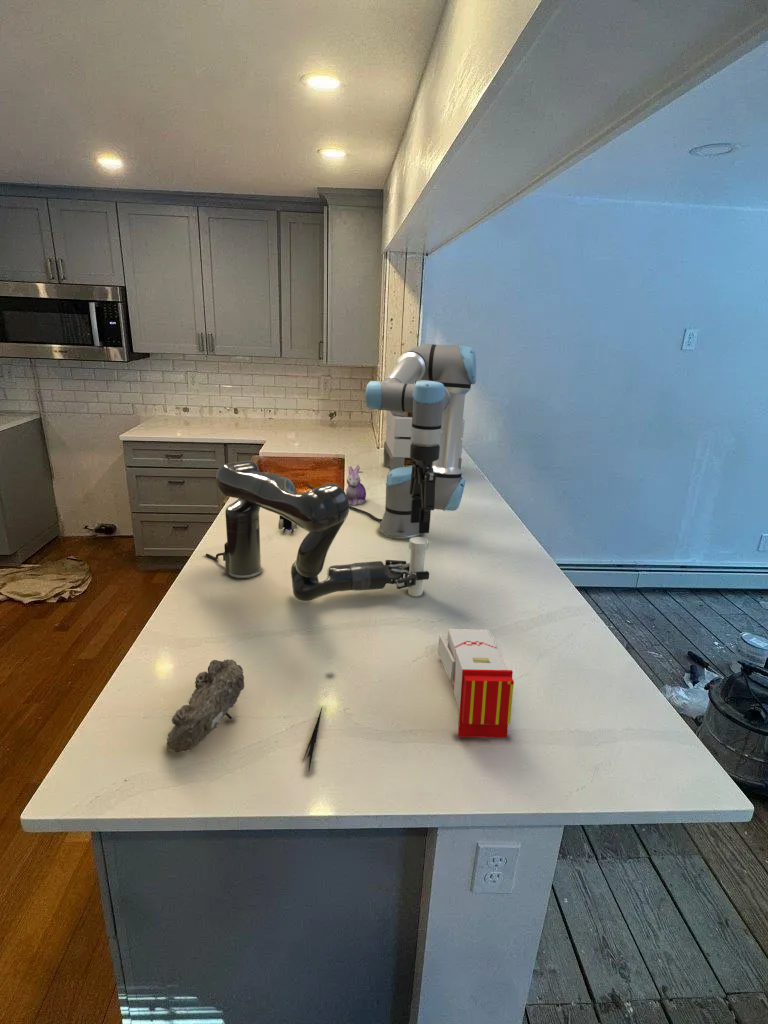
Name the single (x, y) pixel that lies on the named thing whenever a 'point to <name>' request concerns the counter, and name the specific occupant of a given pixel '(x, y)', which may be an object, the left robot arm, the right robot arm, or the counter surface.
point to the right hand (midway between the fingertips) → (419, 527)
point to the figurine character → (286, 524)
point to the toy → (478, 682)
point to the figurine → (355, 487)
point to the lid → (418, 544)
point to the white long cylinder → (416, 566)
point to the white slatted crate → (402, 440)
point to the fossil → (206, 705)
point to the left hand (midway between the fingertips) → (425, 571)
